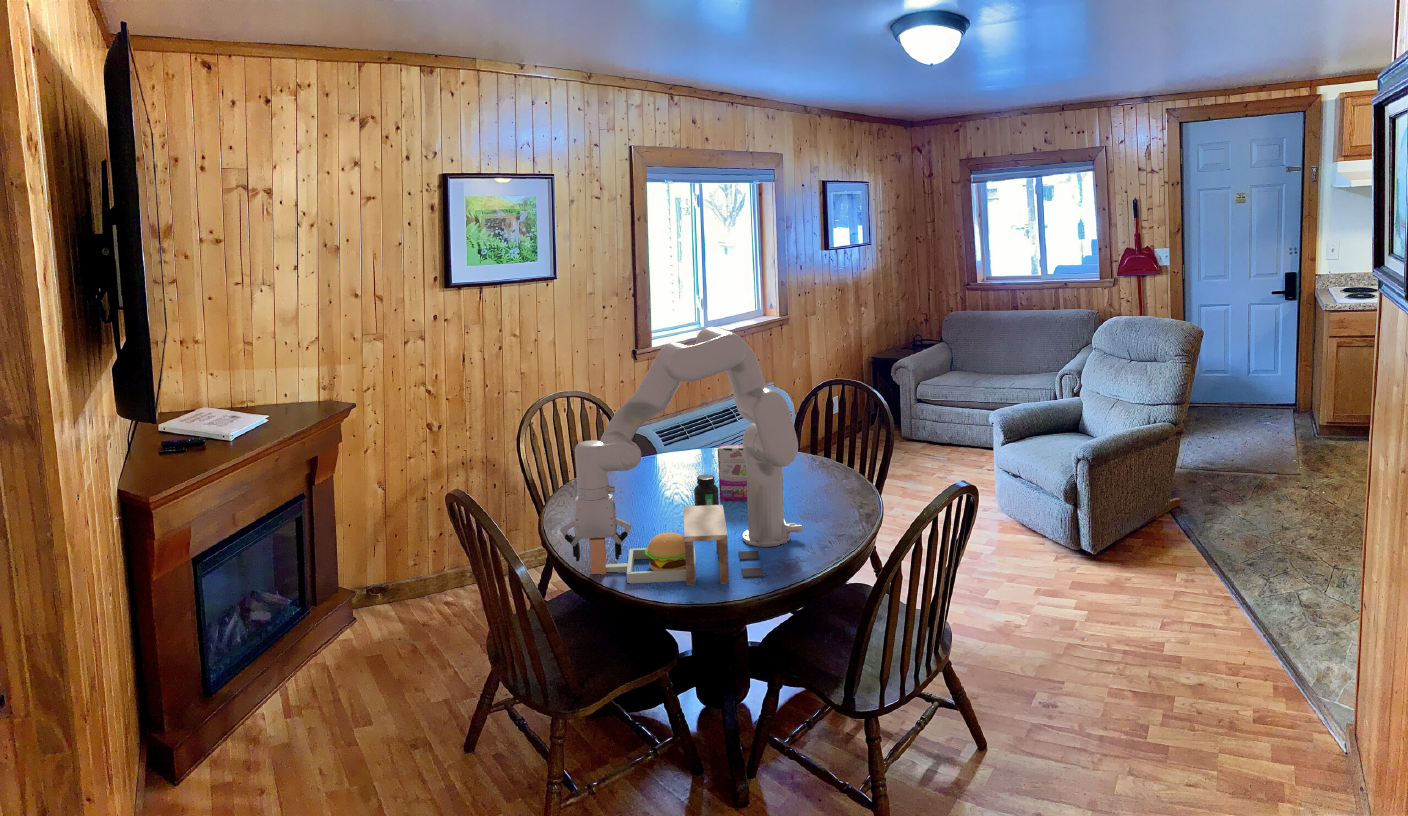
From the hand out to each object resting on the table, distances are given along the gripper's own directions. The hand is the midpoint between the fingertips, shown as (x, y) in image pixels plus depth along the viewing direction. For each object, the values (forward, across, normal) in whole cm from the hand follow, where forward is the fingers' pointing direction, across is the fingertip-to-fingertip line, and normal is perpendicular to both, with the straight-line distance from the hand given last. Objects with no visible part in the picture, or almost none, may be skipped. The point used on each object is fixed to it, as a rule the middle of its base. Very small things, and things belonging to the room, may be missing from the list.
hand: (597, 558), depth 230 cm
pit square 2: (+3, -38, +6) cm, 38 cm away
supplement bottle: (+4, -28, -36) cm, 46 cm away
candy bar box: (+4, -38, -51) cm, 64 cm away
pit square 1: (+3, -38, -6) cm, 38 cm away
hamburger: (+4, -18, -1) cm, 18 cm away
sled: (+4, -11, 0) cm, 12 cm away
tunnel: (+3, -26, 0) cm, 27 cm away
